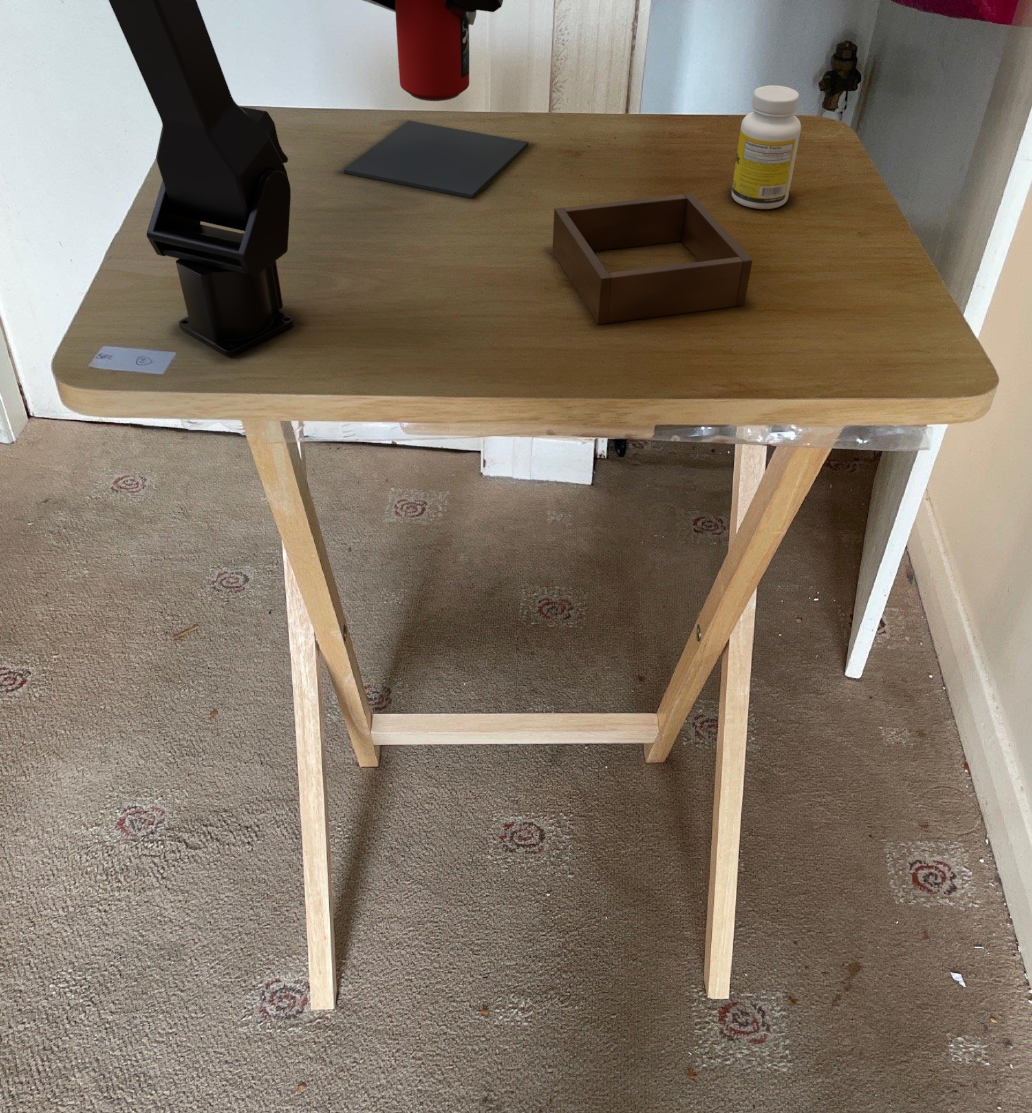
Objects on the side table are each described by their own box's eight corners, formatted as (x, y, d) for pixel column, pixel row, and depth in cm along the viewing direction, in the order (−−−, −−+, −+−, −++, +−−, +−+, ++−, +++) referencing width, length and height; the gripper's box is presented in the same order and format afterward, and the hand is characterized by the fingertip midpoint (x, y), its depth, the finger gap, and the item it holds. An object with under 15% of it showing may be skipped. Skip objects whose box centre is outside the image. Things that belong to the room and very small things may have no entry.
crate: (597, 324, 82) (601, 278, 79) (552, 251, 91) (554, 207, 88) (744, 305, 85) (752, 259, 82) (686, 236, 93) (692, 193, 91)
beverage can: (484, 94, 100) (483, -46, 92) (428, 109, 97) (422, -35, 89) (441, 75, 104) (437, -61, 96) (386, 90, 101) (377, -50, 93)
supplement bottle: (745, 181, 102) (763, 77, 95) (796, 196, 100) (818, 90, 93) (720, 200, 99) (736, 94, 92) (772, 216, 97) (792, 108, 90)
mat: (472, 198, 98) (472, 194, 98) (343, 173, 102) (343, 169, 102) (528, 145, 108) (528, 141, 108) (408, 123, 112) (408, 120, 112)
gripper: (511, -190, 79) (556, -57, 94) (300, -207, 85) (375, -79, 100) (469, -51, 79) (521, 60, 94) (261, -77, 85) (342, 32, 100)
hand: (439, 14), depth 97 cm, fingers closed on beverage can, 7 cm apart
